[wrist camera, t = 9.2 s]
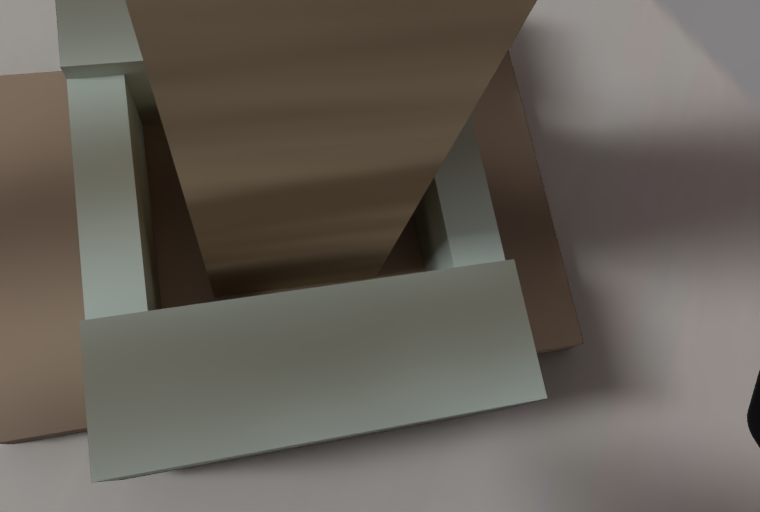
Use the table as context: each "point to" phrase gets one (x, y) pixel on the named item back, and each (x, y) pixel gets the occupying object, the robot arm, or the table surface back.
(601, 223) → the table surface
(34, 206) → the socket
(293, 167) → the rail post
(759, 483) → the table surface
